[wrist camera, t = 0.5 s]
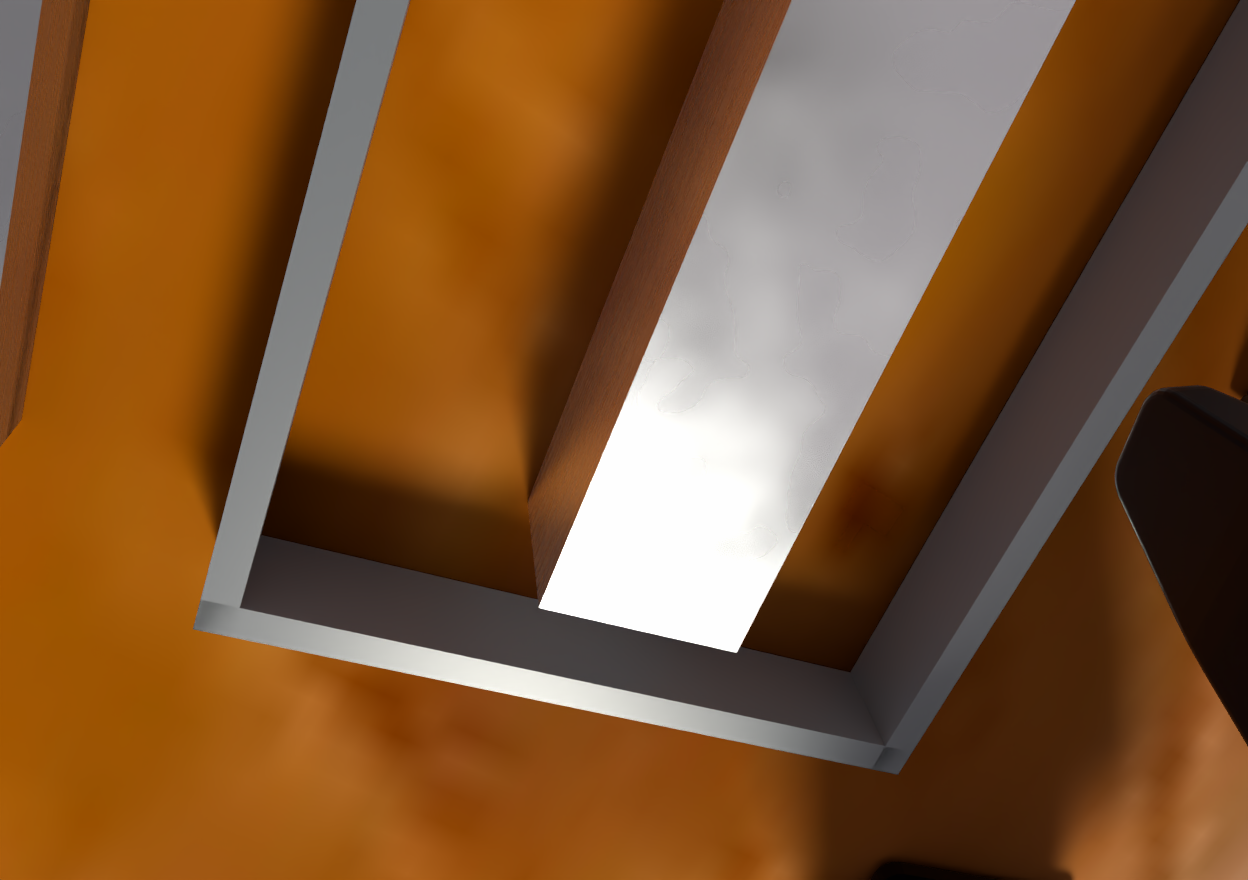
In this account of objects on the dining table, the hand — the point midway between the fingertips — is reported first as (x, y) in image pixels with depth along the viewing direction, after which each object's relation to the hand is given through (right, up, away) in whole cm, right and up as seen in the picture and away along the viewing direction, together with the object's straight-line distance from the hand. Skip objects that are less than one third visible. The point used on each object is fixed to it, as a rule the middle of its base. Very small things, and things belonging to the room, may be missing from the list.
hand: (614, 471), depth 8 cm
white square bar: (+3, +5, +12) cm, 14 cm away
